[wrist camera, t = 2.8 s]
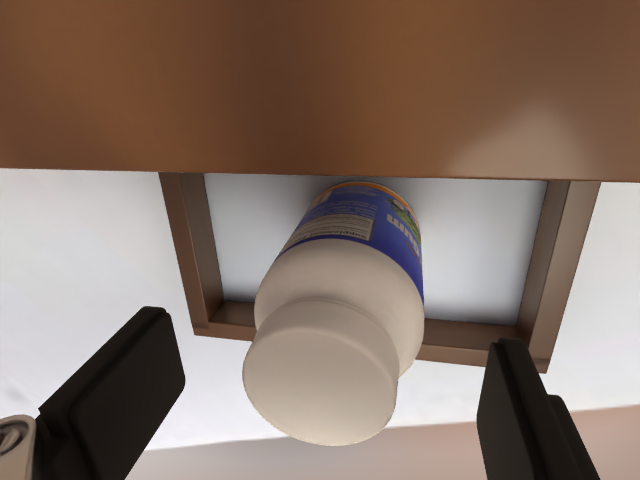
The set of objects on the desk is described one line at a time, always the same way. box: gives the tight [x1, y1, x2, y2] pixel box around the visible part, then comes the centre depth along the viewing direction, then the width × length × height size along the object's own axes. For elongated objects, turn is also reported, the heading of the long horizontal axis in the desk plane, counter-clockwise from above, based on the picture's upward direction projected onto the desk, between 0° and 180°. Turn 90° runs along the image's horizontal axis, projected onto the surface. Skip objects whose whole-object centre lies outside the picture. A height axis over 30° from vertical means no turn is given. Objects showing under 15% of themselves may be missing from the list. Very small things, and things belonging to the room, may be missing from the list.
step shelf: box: [0, 0, 640, 374], centre depth 11 cm, size 17×21×11 cm
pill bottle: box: [242, 181, 424, 446], centre depth 14 cm, size 5×5×10 cm
